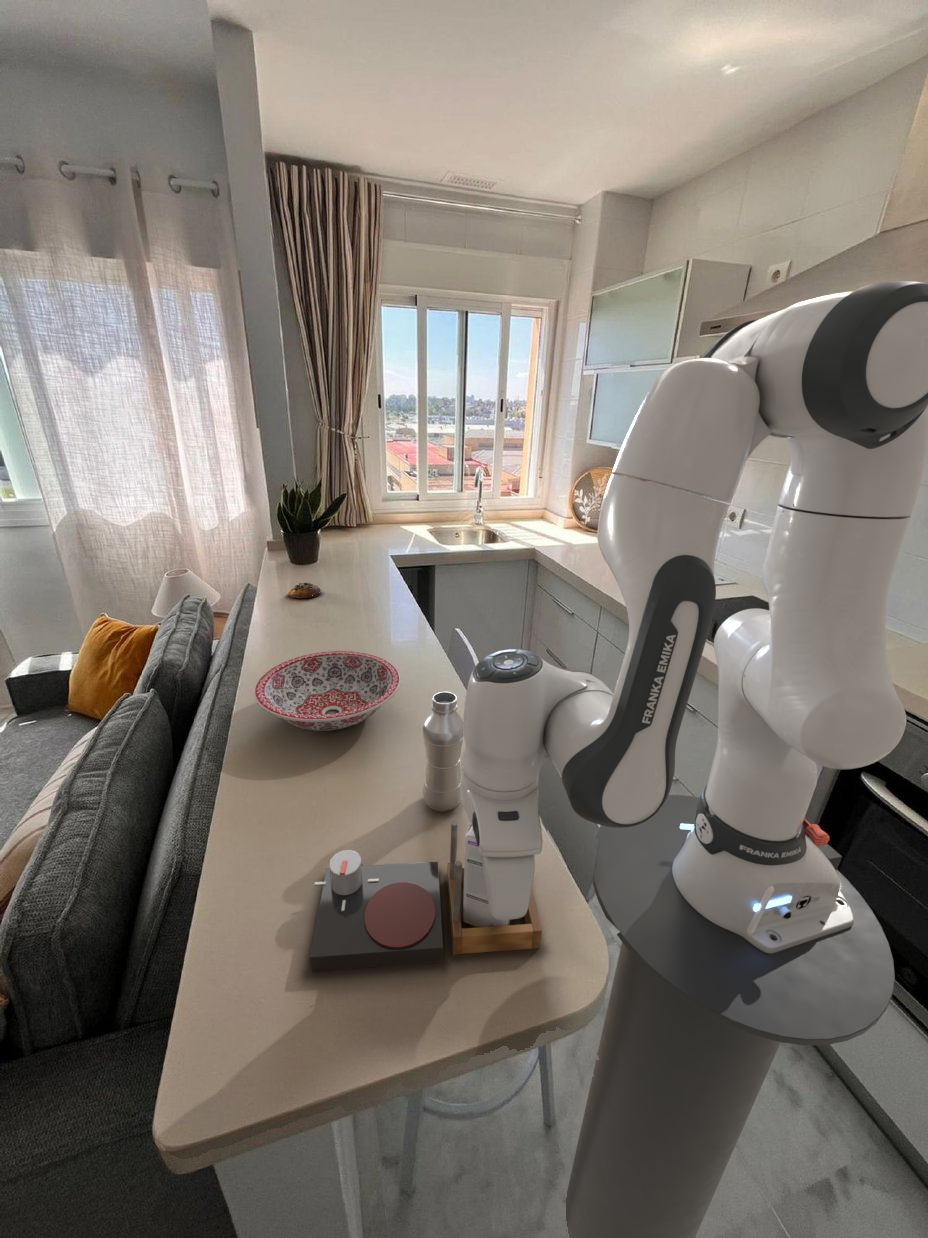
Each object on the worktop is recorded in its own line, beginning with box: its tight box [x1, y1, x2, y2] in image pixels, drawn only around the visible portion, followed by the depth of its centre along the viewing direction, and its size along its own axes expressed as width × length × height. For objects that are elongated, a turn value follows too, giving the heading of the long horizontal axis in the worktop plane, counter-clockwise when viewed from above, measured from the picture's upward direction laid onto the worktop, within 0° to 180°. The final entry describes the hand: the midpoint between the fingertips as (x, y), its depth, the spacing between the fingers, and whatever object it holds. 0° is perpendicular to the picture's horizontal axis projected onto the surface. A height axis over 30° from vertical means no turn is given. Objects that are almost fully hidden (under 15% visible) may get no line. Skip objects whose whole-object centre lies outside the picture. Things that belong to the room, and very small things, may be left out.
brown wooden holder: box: [446, 820, 543, 955], centre depth 62 cm, size 10×10×12 cm
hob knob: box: [328, 849, 363, 895], centre depth 64 cm, size 4×4×4 cm
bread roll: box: [287, 582, 322, 599], centre depth 176 cm, size 11×11×5 cm
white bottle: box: [422, 691, 464, 812], centre depth 78 cm, size 6×7×20 cm
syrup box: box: [462, 823, 512, 928], centre depth 61 cm, size 6×6×14 cm
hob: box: [308, 861, 444, 973], centre depth 63 cm, size 16×14×3 cm
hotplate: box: [364, 882, 435, 949], centre depth 60 cm, size 9×9×1 cm
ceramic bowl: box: [253, 650, 401, 732], centre depth 104 cm, size 29×29×8 cm
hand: (491, 875), depth 62 cm, fingers closed on syrup box, 7 cm apart
